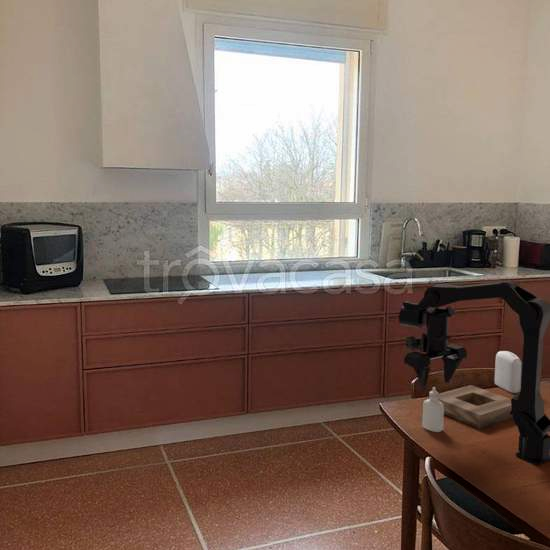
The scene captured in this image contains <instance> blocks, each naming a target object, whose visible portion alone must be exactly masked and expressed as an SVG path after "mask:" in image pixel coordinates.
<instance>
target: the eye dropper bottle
mask: <svg viewBox="0 0 550 550" xmlns="http://www.w3.org/2000/svg"><path fill="white" fill-rule="evenodd" d="M439 394H440V393H439V391H437V388H436V387H435V386H433V387H432V390H430V391H429V395H428V397H429V398H427V399H425V400H424V401H423V403H422V424H421V425H422V428H423V429H425V430H427V431H430V432H434V433H440V432H442V431H443V430H444V417H445V416H444V415H445V414H444V405H443V404H442V403H441V402H440V401H438V395H439Z"/></svg>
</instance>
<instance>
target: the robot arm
mask: <svg viewBox="0 0 550 550" xmlns="http://www.w3.org/2000/svg"><path fill="white" fill-rule="evenodd" d="M499 298H501V299H502V300H503V301H504V302H505V303H506V304H507V305H508V306H509V308H510V309H511V310H512V311H514V312H515V313H516V314H517V315H518V319H519V327H520V329H521V332H522V336H523V345H522V360H521V362H522V366H521V386H520V391H519V392H518V393H516V395H514V396H513V397H512V398H510V399H511V407H512V409H511V412H510V415H512V414H513V415H512V418H511V419H512V422H513V423H514V424H515V425H516V426H517V429H518V433H519V435H518V445H517V446H518V448H517V450H518V452H515V457H518V458H521V459H523V460H525V461H528V462H530V463H532V464H535V465H538V466H539V465H541V464H542V465H543V464H544V463H547V462H550V435H549V432H550V418H549V417H548V416H547V414H546V413H545V405H544V404H545V403H544V399H543V397H542V394H541V380H542V377H541V376H542V361H543V346H544V336H545V334H546V331H547V328H548V326H549V323H550V302H548V301H547V300H546V299H544V298H541V297H538V296H536V295H535V294H534V293H532V292H530V291H528V290H527V289H525V288H524V287H521V286H519V285H518V284H517V283H516V282H514V281H513V280H509V279H508V280H505V281H500V282H491V283H490V282H489V283H487V282H486V283H479V284H470V285H469V284H468V285H457V284H452V283H451V284H450V283H439V284H436V285H431V286H428V287H427V288H426V289H425V291H424V292H423V298H422V299H420V301H419V302H412V301H408V300H406V301H403V302H402V306H401V308H400V310H399V311H400V312H399V314H398V322H399V324H400V325H401V326H407V327H411V328H412V327H413V328H419V329H421V328H423V327H424V326H425V332H422V333H421V337H419V338H416V337H415V335H414V336H413V335H412V336H407V337H405V347H406V349H410V352H408V353H405V355H404V357H403V358H404V360H403V362H404V364H406V365H407V366H408V367H411V368H412V369H413V371H414V372H415V375H416V377H417V380H418V383H419V386H420V389H422V390H425V389H426V387H427V383H428V378H429V375H430V371H431V368H432V367H431V366H430V364H431V361H433V360H438V359H441V360H442V361H443V379H444V383H446V384H448V383H450V381H451V379H452V377H453V376H454V374H455V373H456V371H457V369H458V367H459V366H460V365H461V363H462V362H463V361H464V359H466V358H467V355H468V351H467V350H466V348H465V347H464V346H461V345H457V344H455V343H449V344H448V340H450V339H452V334H449V318H452V317H455V316H457V312H456V311H455V310H454V309H453V308H452V307H451V306H447V307H446V308H440V307H442V306H443V307H444V306H446V305H449V304H454V303H456V302H464V301H475V300H485V299H487V300H488V299H499ZM431 308H432V309H433V308H434V309H433V310H432V309H431ZM418 350H419V351H418ZM421 352H422V353H421Z"/></svg>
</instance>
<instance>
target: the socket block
mask: <svg viewBox="0 0 550 550" xmlns="http://www.w3.org/2000/svg"><path fill="white" fill-rule="evenodd" d="M511 399H512V398H510V397H506V396H504V395H500V394H498V393H495V392H492V391H489V390H486V389H483V388H480V387H478V386H475V385H472V384H471V385H470V384H469V385H466V386H463V387H460V388H455V389H451V390H447V391H444V392H441V393H439V395H438V401H440V402H441V403H442V404H443V405H444V415H445V414H446V415H445V416H447V415H448V417H450V418H452V417H453V418H452V419H455V420H457V421H460V422H461V423H465V424H467V425H470V426H472V427H475V428H477V429H483V428H485V427H489V426H492V425H495V424H498V423H501V422H504V421H507V420H509V419H512V415H513V414H512V415H510V412H511V409H512V407H511Z"/></svg>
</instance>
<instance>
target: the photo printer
mask: <svg viewBox="0 0 550 550" xmlns="http://www.w3.org/2000/svg"><path fill="white" fill-rule="evenodd" d="M494 365H495V366H494V384H495V385H496V386H497V387H499V388H501V389H503V390H504V391H507V392H509V393H512V394H518V393H520V390H521V374H522V360H521V359H520V357H519V356H518V355H516V354H515V353H513V352H511V351H507V350H499V351H498V352H497V353H496V354H495V363H494Z"/></svg>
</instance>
